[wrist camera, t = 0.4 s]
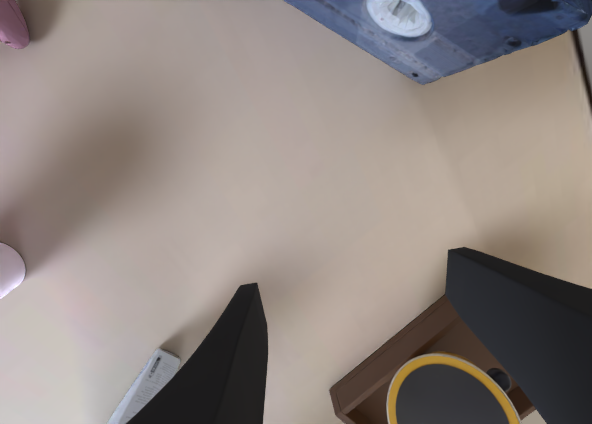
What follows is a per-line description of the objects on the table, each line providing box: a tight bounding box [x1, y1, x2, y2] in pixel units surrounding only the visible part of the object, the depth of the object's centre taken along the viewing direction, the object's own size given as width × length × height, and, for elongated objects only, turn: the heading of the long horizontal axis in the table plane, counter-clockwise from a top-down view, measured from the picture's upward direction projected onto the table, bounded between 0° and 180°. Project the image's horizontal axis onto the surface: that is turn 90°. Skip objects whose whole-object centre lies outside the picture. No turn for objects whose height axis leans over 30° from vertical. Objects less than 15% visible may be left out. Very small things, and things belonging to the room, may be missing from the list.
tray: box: [329, 295, 536, 424], centre depth 24 cm, size 15×13×2 cm
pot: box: [386, 351, 522, 424], centre depth 18 cm, size 8×10×10 cm
